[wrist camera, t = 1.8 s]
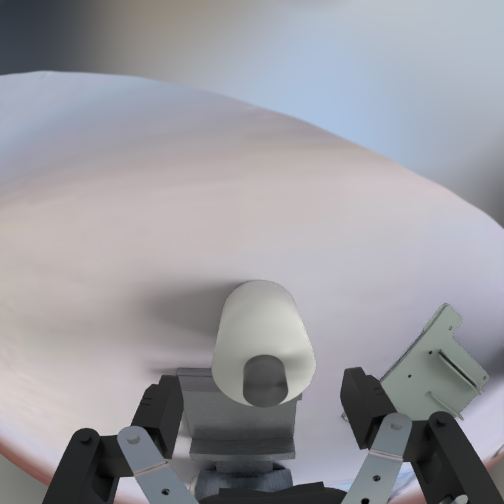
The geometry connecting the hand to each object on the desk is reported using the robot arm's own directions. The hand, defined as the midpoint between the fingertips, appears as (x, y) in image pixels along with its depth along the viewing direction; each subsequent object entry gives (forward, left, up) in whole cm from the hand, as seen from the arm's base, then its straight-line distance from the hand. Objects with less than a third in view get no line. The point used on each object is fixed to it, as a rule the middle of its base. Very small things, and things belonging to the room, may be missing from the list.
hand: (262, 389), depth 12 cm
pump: (0, 0, -9) cm, 9 cm away
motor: (+2, +16, -9) cm, 19 cm away
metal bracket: (-18, +11, -10) cm, 23 cm away
